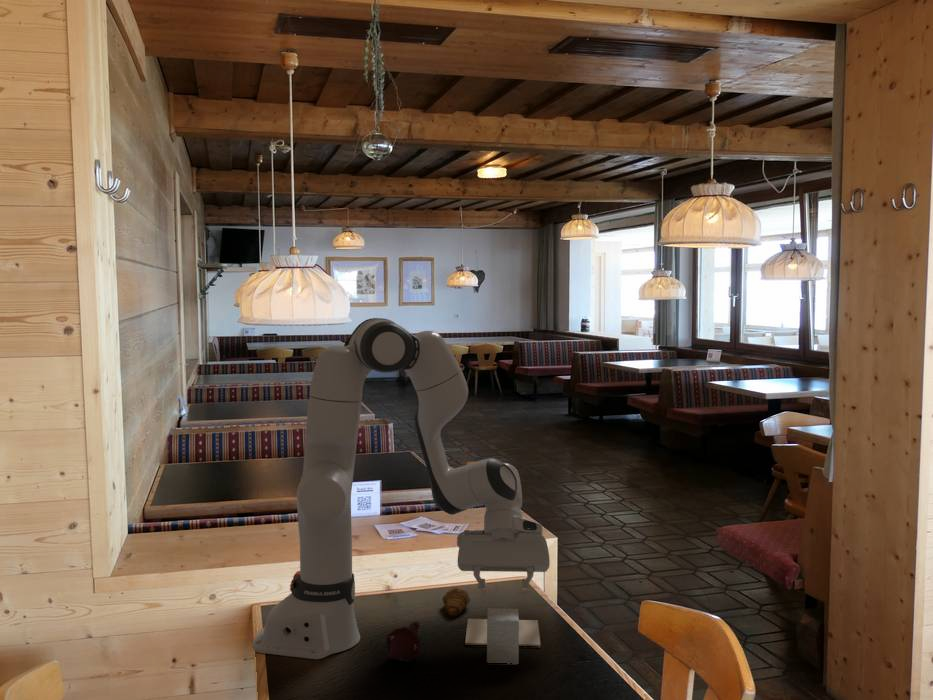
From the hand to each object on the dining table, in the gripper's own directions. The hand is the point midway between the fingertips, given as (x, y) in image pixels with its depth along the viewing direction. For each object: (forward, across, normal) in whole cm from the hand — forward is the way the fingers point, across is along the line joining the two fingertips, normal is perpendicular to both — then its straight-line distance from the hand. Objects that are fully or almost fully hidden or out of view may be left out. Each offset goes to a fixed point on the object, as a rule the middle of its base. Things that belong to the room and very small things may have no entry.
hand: (503, 588), depth 170 cm
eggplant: (+15, -20, +2) cm, 25 cm away
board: (+5, 0, +11) cm, 12 cm away
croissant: (-5, -11, +22) cm, 25 cm away
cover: (+13, 0, +3) cm, 14 cm away
